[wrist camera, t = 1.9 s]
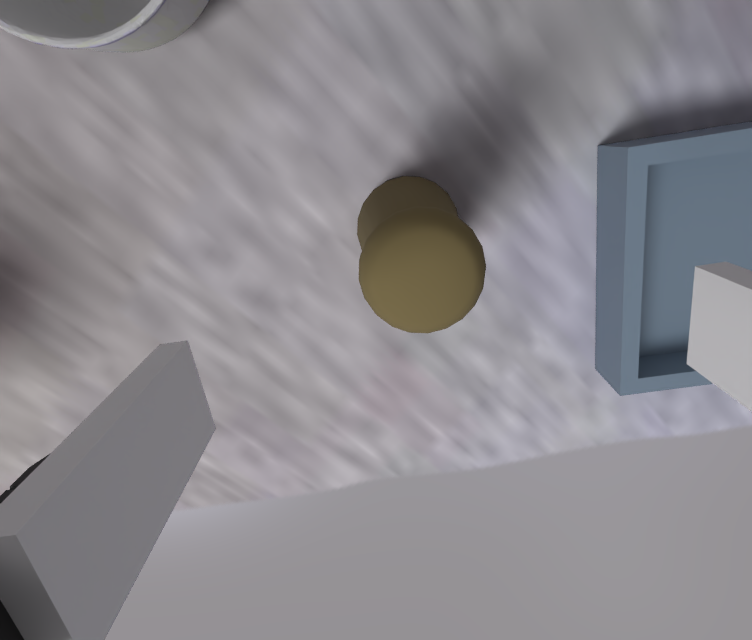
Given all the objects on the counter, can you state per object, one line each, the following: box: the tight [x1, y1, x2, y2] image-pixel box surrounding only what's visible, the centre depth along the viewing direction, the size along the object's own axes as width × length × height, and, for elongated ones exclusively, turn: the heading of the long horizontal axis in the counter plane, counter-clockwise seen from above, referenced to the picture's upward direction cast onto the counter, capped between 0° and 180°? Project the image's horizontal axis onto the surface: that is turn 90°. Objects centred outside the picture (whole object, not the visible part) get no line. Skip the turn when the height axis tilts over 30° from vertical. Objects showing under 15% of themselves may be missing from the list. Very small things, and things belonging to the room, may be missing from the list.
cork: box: [357, 176, 486, 333], centre depth 24 cm, size 6×6×11 cm
